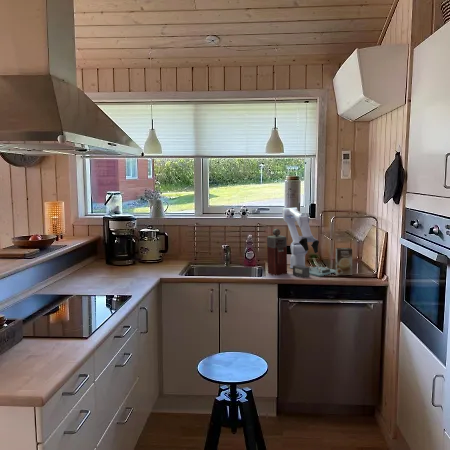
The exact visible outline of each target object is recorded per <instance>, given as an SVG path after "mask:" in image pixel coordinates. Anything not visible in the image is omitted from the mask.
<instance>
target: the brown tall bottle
mask: <svg viewBox="0 0 450 450" xmlns="http://www.w3.org/2000/svg"><path fill="white" fill-rule="evenodd" d="M287 239H288V238H287V237H286V236H285V235H281V230H280V229H279V228H275V229H273V230H272V235H267V237H266V246H267V247H266V249H267V252H266V253H267V273H268V274H270V275H273V276H280V275H286V274H288V252H287V251H288V250H287V248H288V247H287V244H288V243H287Z"/></svg>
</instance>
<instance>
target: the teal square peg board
mask: <svg viewBox="0 0 450 450" xmlns="http://www.w3.org/2000/svg"><path fill="white" fill-rule="evenodd" d="M331 273H334V274H336V269H332V268H329V267H328V266H325V267H322V266H319V264H316V266H315V267H314V266H313V267H312V266H311V265H309V276H310V275H311V276H314V277H325V276H328V274H329V275H332V274H331ZM324 275H325V276H324Z"/></svg>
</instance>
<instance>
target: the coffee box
mask: <svg viewBox="0 0 450 450" xmlns="http://www.w3.org/2000/svg"><path fill="white" fill-rule="evenodd" d="M335 270H336V273H335V276H337V275H352V276H353V248H351V247H335Z"/></svg>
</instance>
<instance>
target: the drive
mask: <svg viewBox="0 0 450 450" xmlns="http://www.w3.org/2000/svg"><path fill="white" fill-rule="evenodd" d="M309 268H310V266H306V265H305V266H301V265H294V266H293V268H292V275H293V276H296V277H300V278H303V279H304V278H310V275H309Z"/></svg>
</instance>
